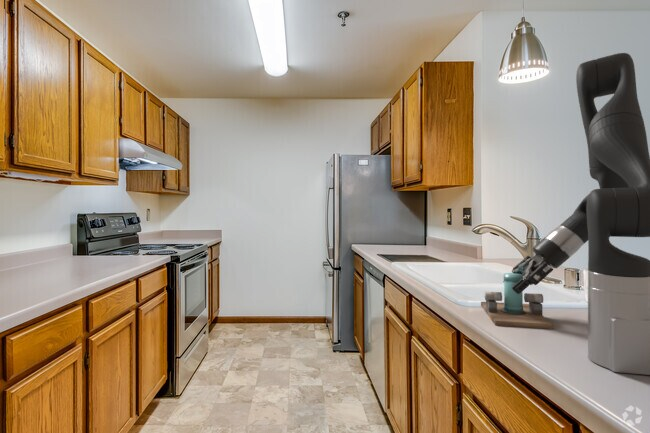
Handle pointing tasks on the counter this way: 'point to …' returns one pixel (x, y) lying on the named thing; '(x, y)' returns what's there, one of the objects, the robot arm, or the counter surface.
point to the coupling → (512, 293)
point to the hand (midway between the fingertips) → (510, 287)
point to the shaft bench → (525, 319)
